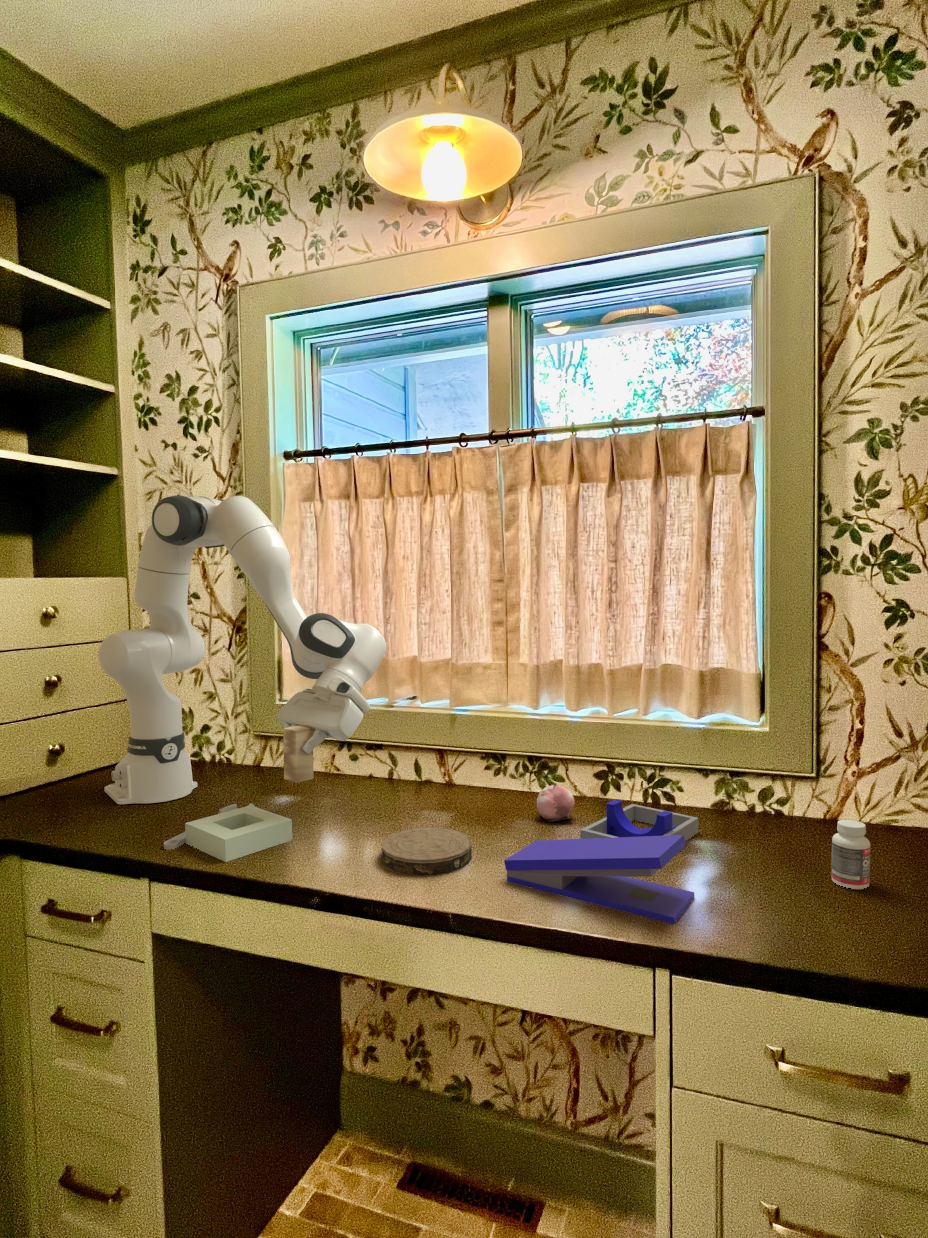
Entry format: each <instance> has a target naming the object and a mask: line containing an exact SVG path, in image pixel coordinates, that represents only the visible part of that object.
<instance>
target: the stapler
mask: <svg viewBox="0 0 928 1238" xmlns="http://www.w3.org/2000/svg"><path fill="white" fill-rule="evenodd" d="M685 847H686V842H685V839H684V835H668V836H642V837H615V838H588V839H580V838H569V839H568V838H567V839H540V840H538V839H537V840H535V841H533V842H532V843H530V844H528V845H526V846H525V847H524V848H522V849H520V850H518V851H517V852H515V853H513V854H512V855H510V856H509V857H507V858H505V859H504V861H503V862H504V866H505V870H506V881H507V883H511V884H515V885H517V886H518V885H519V886H522V887H527V888H530V889H535V890H538V891H542V892H546V893H550V894H554V895H558V896H562V897H565V898H569V899H574V900H577V901H582V902H584V903H585V902H586V903H588V904H592V905H593V904H594V905H597V906H601V907H606V908H609V909H613V910H617V911H622V912H624V913H625V912H626V913H630V914H633V915H637V916H641V917H643V918H648V919H653V920H656V921H660V922H664V923H666V924H667V923H668V924H672V925H675V924H676V923H677V921H679V919H680V918H681V917H682V915H683V914H684V912H685V911H686V910H687V908H688V907H689V904H690V905H691V903H692V902H693V901H694V899H695V891H690V890H687V889H682V888H678V887H673V886H668V885H665V884H660V883H655V882H651V881H646V880H643V879H638V878H633V877H647V878H648V877H650V878H651V877H653V876H654V875H655V874H657V872H658V871H659V870H662V869H663V868H664V867H665V866H667V864H668V863H669V862H670V861H671V860H672V859H674V857H676V856H677V855H678V854H679V853H680V851H682V850H683V849H684V848H685ZM692 900H693V901H692ZM691 901H692V902H691Z"/></svg>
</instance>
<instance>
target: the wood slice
mask: <svg viewBox="0 0 928 1238" xmlns="http://www.w3.org/2000/svg"><path fill="white" fill-rule="evenodd" d="M472 850H473V848H472V841H471V837H469V836H468V835H467V834H465V833H464V832H461V831H458V830H454V829H449V828H443V827H418V828H411V829H406V830H402V831H399V832H398V831H397V832H395V833H393V834H391V835H389V836H387V837H386V838H385V839H383V841H382V846H381V856H382V857H381V862H382V863H383V865H384V866H385V867H386V868H387V869H389V870H391V871H393V872H395V873H399V874H401V875H408V876H418V877H424V876H426V877H427V876H440V875H446V874H450V873H453V872H457V871H460V870H461V869H463V868H465V867H466V866H469V864H470V863H471V861H472V859H473V858H472V857H473V856H472V854H473V853H472V852H473V851H472Z"/></svg>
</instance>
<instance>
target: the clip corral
mask: <svg viewBox="0 0 928 1238" xmlns="http://www.w3.org/2000/svg"><path fill="white" fill-rule="evenodd" d="M622 808H623V811H624V814H625V816H626V817H627V819H628V820H629V821H630V822H631V823H633V822H634V820H635V822H640V823H643V822H644V823H643V824H647V823H649V824H648V825H652V824H653V825H652V826H654V825H655V823H656V818H657V815H658V814H659V813H661V812H663V811H665V810H663V809H658V808H653V807H650V806H649V807H648V806H644V805H640V804H639V805H638V804H635V803H631V804H629V805H626V807H622ZM666 811H667V810H666ZM667 812H669V810H668V811H667ZM671 812H672V826H675V827H676V828H675V829H673V830H671V831H669V832H668V833H666V834H664V835H663V836H668V835H684V839H685V841H686V840H687V841H689V840H690V839H692V838H693V837H695V836H696V835H697V834H696V833H698V834H699V817H697V816H691V815H687V814H681V813H677V812H673V811H671ZM632 821H633V822H632ZM579 833H580V834H579V835H580V838H579V839H588V838H615V837H616V836H612V835H608V834H607V816H604V817H603V818H601V819H599V820H597V821H595V822H593V823H591V824H590V825H586V826H585V827H583V828H581V829H580V831H579ZM695 834H696V835H695ZM694 835H695V836H694ZM692 836H693V837H692ZM691 837H692V838H691ZM689 838H690V839H689ZM688 839H689V840H688ZM687 841H686V842H687Z"/></svg>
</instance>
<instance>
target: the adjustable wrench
mask: <svg viewBox="0 0 928 1238" xmlns="http://www.w3.org/2000/svg"><path fill="white" fill-rule="evenodd" d="M249 805H251V806H254V807H256V806H255V804H254V803H249V804H248V805H247V806H249ZM238 808H239V807H238V806H237V803H232V804H230V805H229V804H228V805H226V806H224V807H222V808H219V809H218V812H217V814H220V813H224V812H227V811H231V810H235V809H238ZM184 843H186V833H185V831H183V832H181V833H179V834H178V835H175V836H173V837H172V838H169V839H167V840H165V841H164V842H163V849H164V850H165V849H166V851H169V850H170V851H171V849H172V850H176V849H178V848H180V847H182V846H183V844H184ZM181 845H182V846H181ZM184 845H185V844H184ZM179 846H180V847H179ZM177 847H178V848H177ZM175 848H176V849H175Z"/></svg>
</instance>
